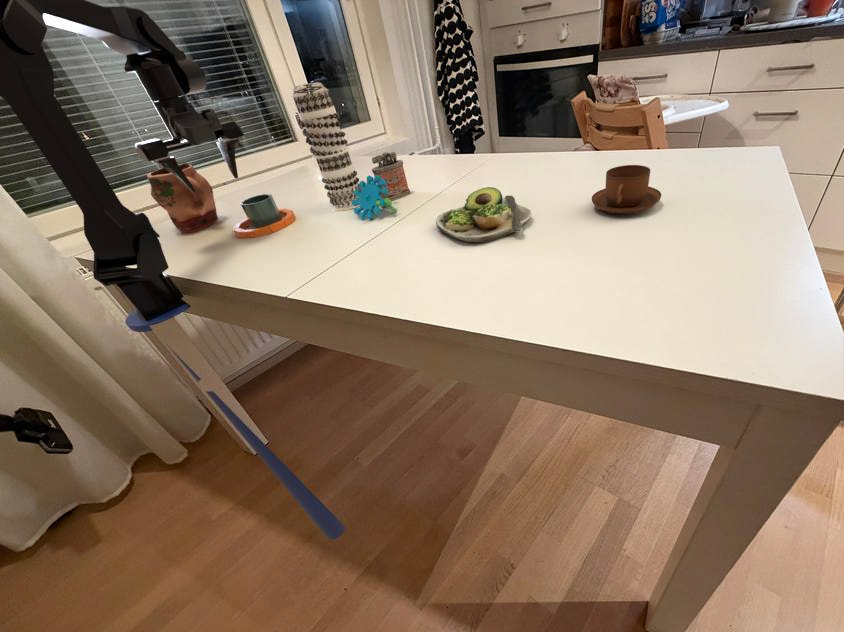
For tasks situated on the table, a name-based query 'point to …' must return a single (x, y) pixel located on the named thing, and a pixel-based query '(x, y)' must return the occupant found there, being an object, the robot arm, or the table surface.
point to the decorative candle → (327, 143)
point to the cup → (261, 210)
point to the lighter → (391, 175)
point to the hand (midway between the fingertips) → (215, 184)
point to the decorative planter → (184, 198)
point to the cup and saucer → (626, 190)
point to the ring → (267, 229)
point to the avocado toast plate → (484, 217)
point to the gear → (371, 198)
